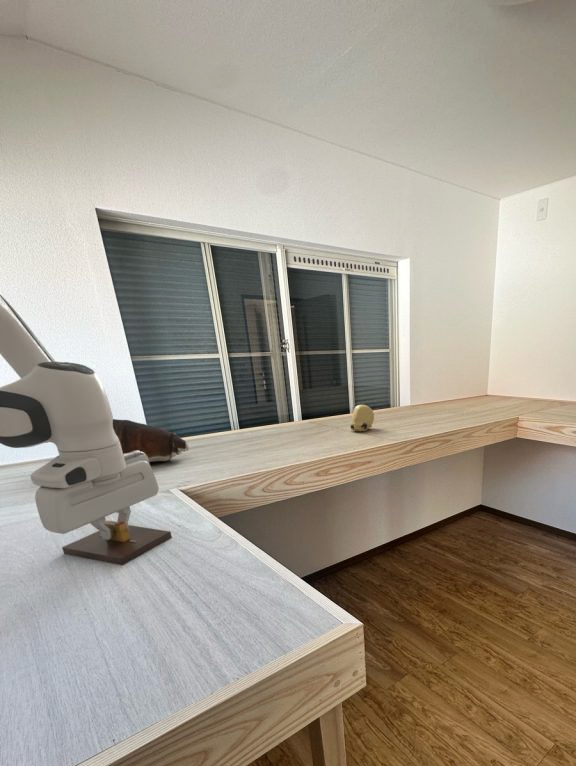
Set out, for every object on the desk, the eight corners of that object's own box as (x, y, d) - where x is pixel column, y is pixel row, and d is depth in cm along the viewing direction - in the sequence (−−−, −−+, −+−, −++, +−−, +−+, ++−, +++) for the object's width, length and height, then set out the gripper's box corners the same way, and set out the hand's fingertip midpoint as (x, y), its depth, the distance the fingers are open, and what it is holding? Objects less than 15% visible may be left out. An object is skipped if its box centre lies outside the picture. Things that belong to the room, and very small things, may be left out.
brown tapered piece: (186, 427, 129) (92, 417, 121) (185, 476, 132) (93, 469, 124) (192, 425, 143) (107, 416, 134) (191, 469, 146) (108, 463, 138)
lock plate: (66, 562, 75) (61, 546, 74) (119, 536, 85) (115, 522, 84) (125, 573, 71) (120, 557, 70) (174, 545, 81) (170, 530, 79)
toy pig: (352, 437, 181) (343, 424, 171) (358, 413, 184) (349, 399, 175) (373, 438, 177) (365, 425, 168) (379, 413, 181) (371, 399, 171)
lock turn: (105, 538, 77) (99, 522, 76) (112, 535, 78) (106, 519, 77) (124, 542, 76) (118, 524, 74) (130, 538, 77) (125, 521, 75)
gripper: (132, 446, 81) (149, 511, 86) (18, 478, 63) (48, 557, 69) (157, 448, 79) (173, 515, 85) (47, 482, 61) (76, 563, 67)
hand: (116, 534), depth 76 cm, fingers closed on lock turn
